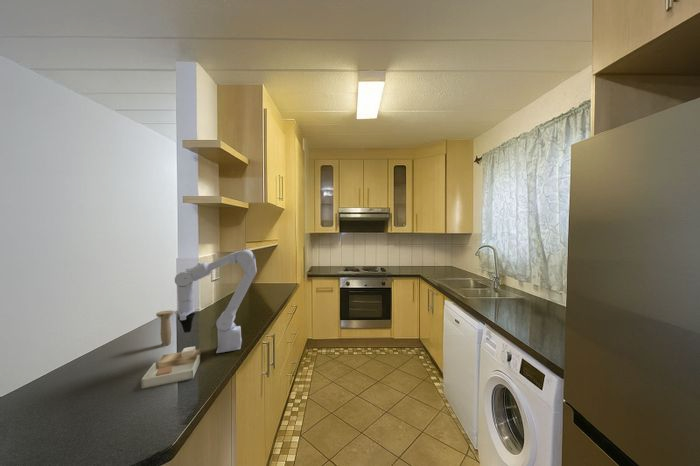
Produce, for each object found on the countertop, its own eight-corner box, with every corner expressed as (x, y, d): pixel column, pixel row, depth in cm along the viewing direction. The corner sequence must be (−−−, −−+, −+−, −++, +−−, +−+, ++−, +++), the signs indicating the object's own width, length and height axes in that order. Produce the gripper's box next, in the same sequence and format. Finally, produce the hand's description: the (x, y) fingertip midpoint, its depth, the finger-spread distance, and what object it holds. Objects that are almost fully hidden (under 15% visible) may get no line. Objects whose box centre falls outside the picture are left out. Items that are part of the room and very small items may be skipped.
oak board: (200, 354, 108) (200, 348, 108) (197, 362, 102) (196, 356, 102) (163, 361, 104) (163, 355, 104) (157, 369, 97) (157, 363, 97)
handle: (171, 346, 118) (169, 313, 117) (155, 347, 117) (154, 314, 116) (176, 341, 122) (175, 310, 122) (161, 342, 121) (160, 311, 121)
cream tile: (195, 351, 106) (195, 346, 106) (193, 355, 103) (193, 350, 103) (184, 353, 105) (184, 348, 105) (181, 357, 101) (181, 352, 101)
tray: (200, 362, 102) (199, 354, 102) (193, 378, 91) (192, 370, 91) (154, 370, 97) (154, 362, 97) (141, 388, 86) (140, 380, 86)
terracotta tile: (169, 371, 91) (169, 377, 92) (171, 366, 95) (171, 371, 95) (155, 374, 90) (155, 380, 90) (158, 368, 93) (158, 374, 93)
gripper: (179, 297, 114) (180, 327, 115) (169, 305, 101) (171, 340, 101) (197, 294, 117) (199, 324, 117) (190, 303, 104) (192, 336, 104)
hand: (187, 331), depth 109 cm, fingers closed
